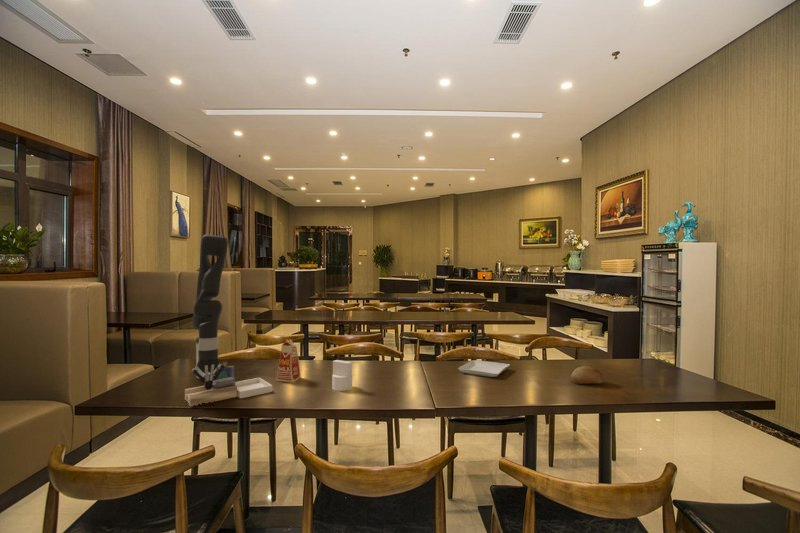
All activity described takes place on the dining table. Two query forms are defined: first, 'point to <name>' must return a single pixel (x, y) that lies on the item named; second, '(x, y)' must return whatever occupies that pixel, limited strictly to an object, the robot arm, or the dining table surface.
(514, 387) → the dining table surface
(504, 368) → the salad plate
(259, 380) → the tray
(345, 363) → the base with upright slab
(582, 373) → the bread roll
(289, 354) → the milk carton
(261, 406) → the dining table surface
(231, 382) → the blue-grey cube
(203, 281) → the robot arm
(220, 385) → the grey cube
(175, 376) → the dining table surface
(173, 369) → the dining table surface
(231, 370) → the flask
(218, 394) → the channel
